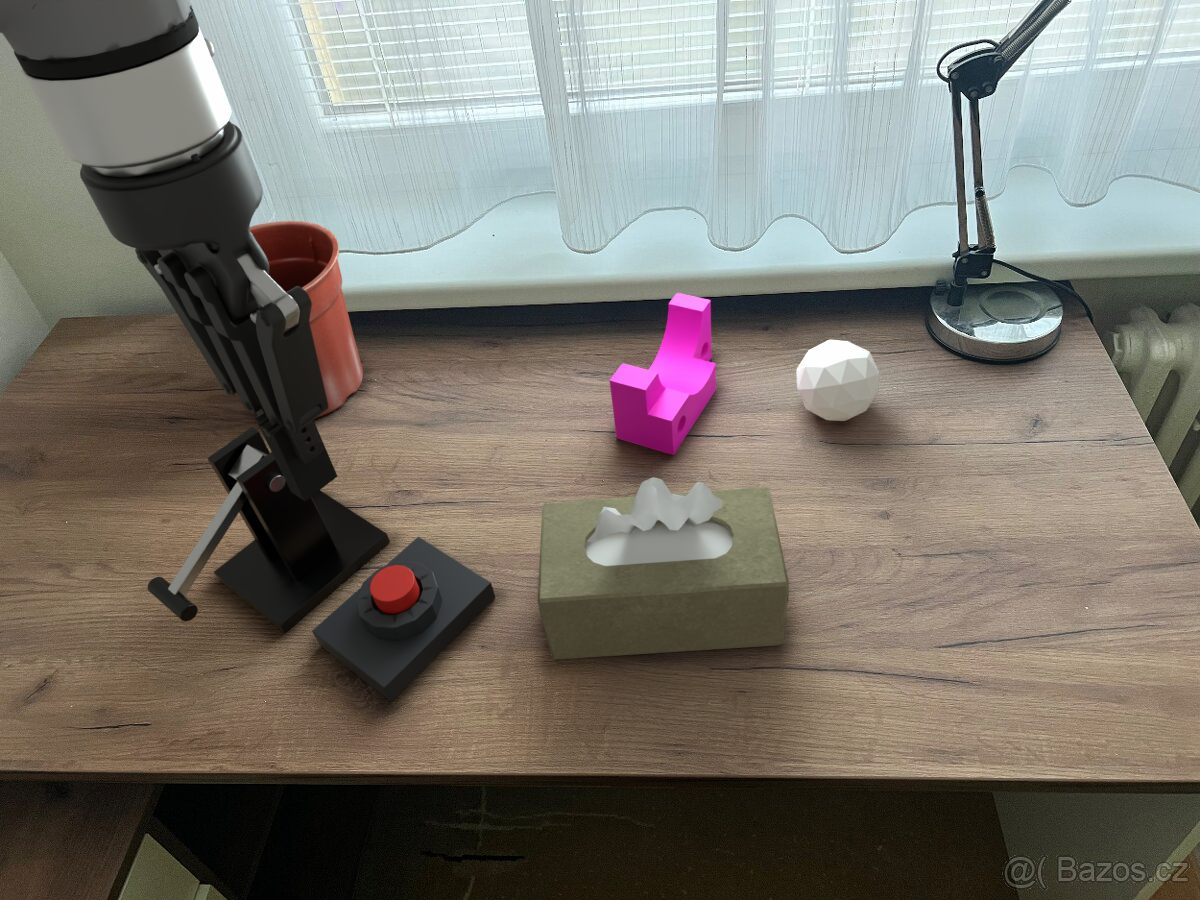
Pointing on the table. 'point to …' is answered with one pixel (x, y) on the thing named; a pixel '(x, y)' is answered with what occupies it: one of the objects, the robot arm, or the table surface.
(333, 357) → the flower pot
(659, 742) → the table surface
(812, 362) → the ball
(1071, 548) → the table surface
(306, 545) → the bracket
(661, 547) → the tissue box
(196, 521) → the table surface
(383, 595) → the button
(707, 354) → the toy block
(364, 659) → the button block
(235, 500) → the lever
